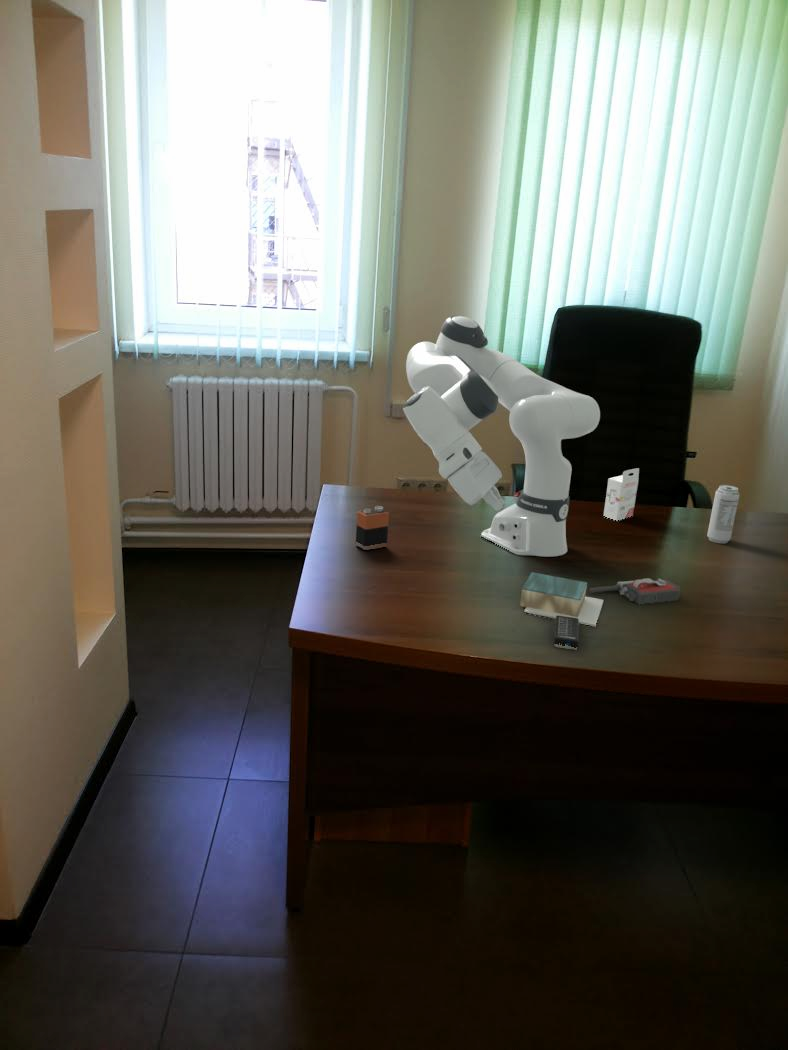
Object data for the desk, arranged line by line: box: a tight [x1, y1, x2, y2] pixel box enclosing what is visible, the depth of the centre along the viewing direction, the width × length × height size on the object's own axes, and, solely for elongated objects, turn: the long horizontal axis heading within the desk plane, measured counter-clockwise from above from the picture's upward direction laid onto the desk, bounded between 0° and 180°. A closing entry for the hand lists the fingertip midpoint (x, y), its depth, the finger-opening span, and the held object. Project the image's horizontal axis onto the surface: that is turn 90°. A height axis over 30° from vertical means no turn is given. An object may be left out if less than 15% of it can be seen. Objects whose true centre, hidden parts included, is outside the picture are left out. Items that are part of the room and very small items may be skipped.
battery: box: [355, 505, 390, 546], centre depth 201 cm, size 4×7×10 cm, turn 126°
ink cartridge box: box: [603, 467, 640, 522], centre depth 238 cm, size 9×5×15 cm, turn 132°
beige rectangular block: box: [519, 571, 588, 617], centre depth 175 cm, size 4×10×12 cm
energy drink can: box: [706, 484, 740, 544], centre depth 223 cm, size 6×6×15 cm
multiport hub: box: [553, 616, 580, 648], centre depth 161 cm, size 4×11×2 cm, turn 168°
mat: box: [523, 595, 604, 628], centre depth 175 cm, size 14×14×1 cm
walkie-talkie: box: [589, 577, 681, 605], centre depth 183 cm, size 9×4×20 cm
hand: (501, 507), depth 174 cm, fingers closed
